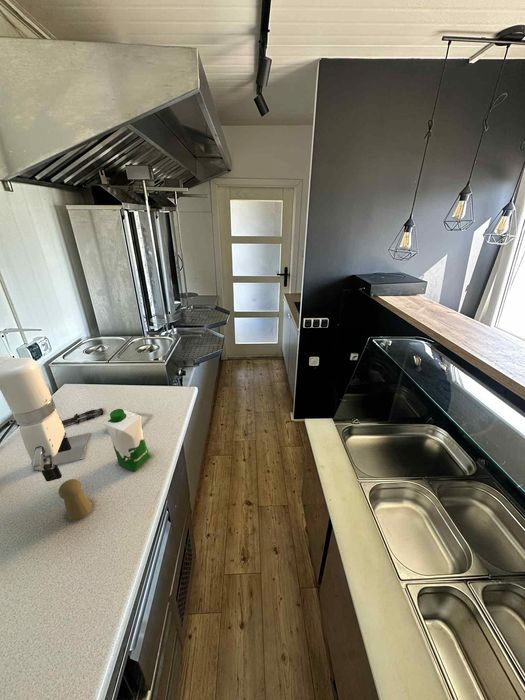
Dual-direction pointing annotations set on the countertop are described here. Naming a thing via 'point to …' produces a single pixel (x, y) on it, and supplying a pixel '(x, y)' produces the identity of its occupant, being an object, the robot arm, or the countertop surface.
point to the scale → (70, 451)
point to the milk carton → (127, 438)
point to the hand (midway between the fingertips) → (60, 463)
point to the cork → (74, 499)
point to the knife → (67, 422)
